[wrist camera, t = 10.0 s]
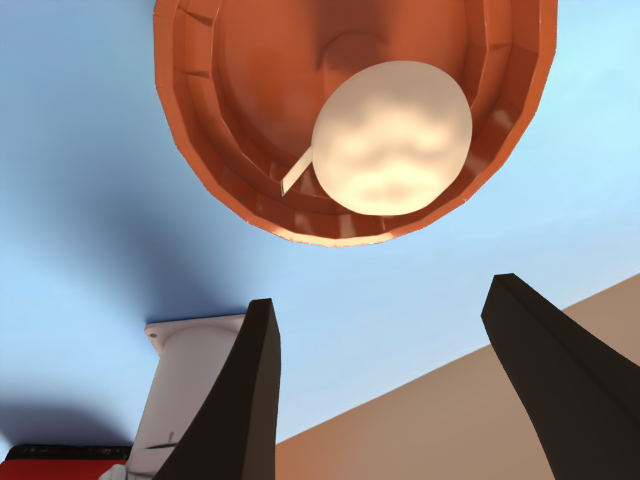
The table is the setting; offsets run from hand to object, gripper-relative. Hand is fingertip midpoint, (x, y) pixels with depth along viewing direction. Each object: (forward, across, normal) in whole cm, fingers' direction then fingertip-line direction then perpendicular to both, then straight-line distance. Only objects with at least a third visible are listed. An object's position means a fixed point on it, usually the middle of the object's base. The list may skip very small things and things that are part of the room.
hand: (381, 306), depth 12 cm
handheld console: (+11, +30, +33) cm, 46 cm away
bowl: (+10, 0, -5) cm, 11 cm away
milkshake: (+10, 0, -5) cm, 11 cm away
